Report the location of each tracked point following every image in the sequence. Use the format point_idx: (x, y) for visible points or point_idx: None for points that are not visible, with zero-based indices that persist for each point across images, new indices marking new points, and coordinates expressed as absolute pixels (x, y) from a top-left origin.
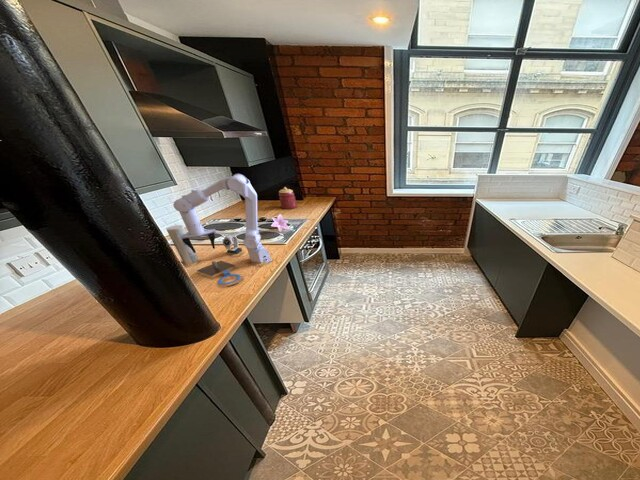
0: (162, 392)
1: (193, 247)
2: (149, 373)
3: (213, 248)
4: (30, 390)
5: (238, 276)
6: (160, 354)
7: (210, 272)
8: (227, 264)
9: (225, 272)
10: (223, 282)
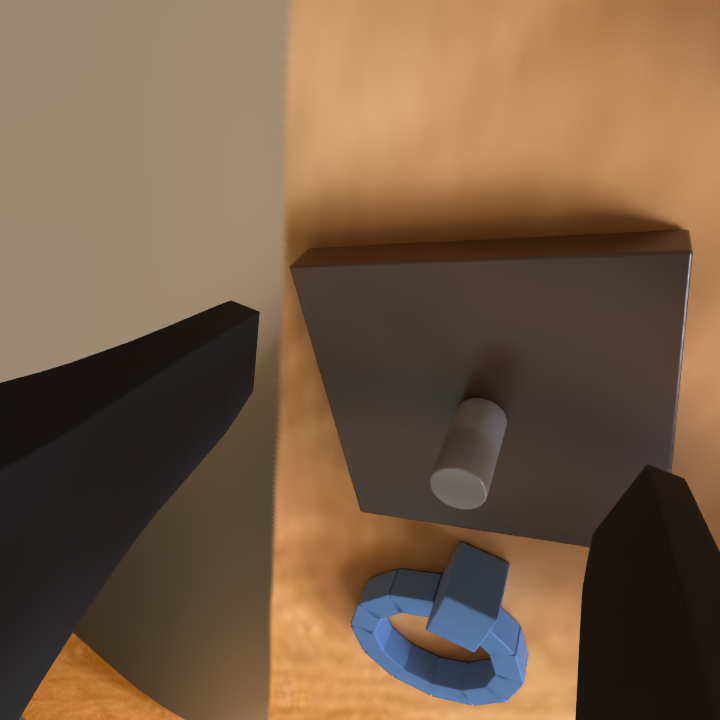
0: None
1: (183, 388)
2: (91, 685)
3: (595, 546)
4: None
5: (497, 687)
6: (105, 669)
7: (383, 450)
8: (627, 461)
9: (446, 632)
10: (378, 645)
